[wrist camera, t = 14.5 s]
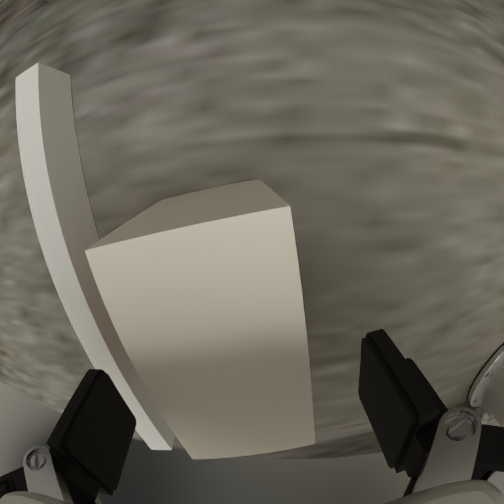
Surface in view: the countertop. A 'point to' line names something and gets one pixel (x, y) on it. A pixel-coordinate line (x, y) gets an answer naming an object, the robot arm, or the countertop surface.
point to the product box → (214, 317)
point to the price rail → (74, 235)
